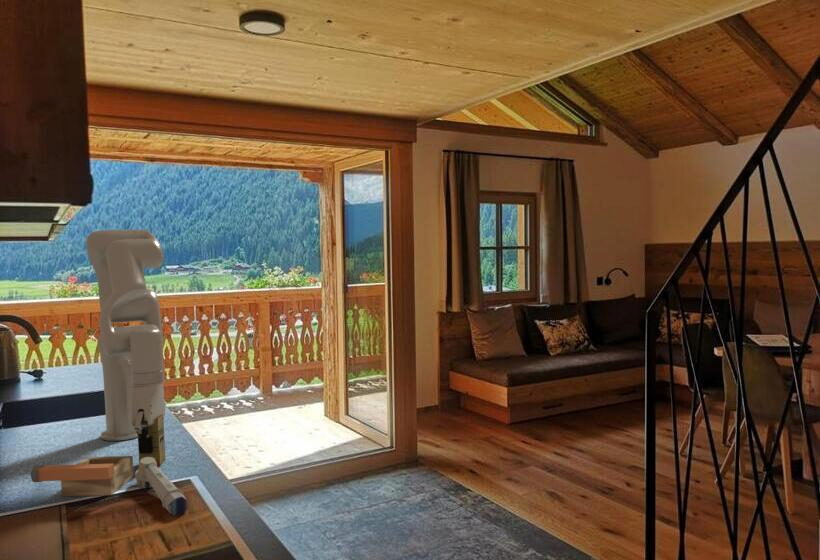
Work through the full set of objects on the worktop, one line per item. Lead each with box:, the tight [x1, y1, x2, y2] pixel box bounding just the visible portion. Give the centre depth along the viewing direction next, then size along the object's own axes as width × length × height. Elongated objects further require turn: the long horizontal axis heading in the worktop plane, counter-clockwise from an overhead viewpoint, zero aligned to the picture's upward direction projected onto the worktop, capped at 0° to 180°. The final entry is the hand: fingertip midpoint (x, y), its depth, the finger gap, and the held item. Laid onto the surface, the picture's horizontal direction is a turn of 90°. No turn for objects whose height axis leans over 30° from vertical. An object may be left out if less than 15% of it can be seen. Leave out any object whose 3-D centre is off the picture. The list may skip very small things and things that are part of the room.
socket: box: [60, 455, 135, 497], centre depth 143 cm, size 11×11×5 cm
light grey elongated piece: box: [134, 457, 189, 516], centre depth 136 cm, size 5×7×25 cm
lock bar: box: [30, 464, 114, 483], centre depth 134 cm, size 4×16×4 cm, turn 90°
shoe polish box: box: [137, 414, 166, 466], centre depth 157 cm, size 5×5×12 cm
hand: (151, 447), depth 157 cm, fingers open, 6 cm apart
